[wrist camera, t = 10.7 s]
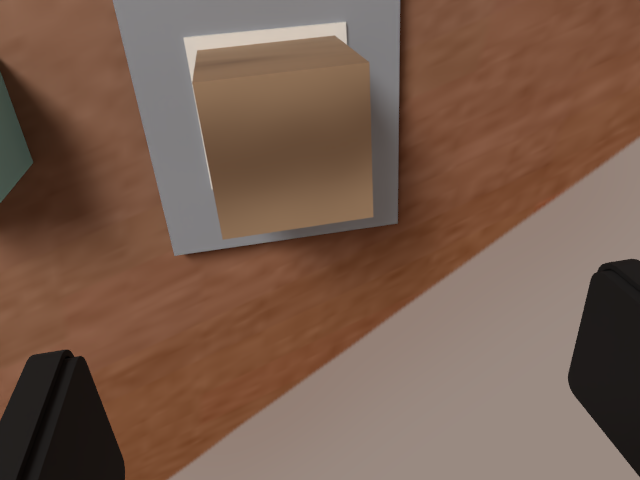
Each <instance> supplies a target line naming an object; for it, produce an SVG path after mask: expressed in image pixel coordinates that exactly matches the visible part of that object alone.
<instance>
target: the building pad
mask: <svg viewBox="0 0 640 480" xmlns="http://www.w3.org/2000/svg"><path fill="white" fill-rule="evenodd" d="M113 4H114V8H115V12H116V16H117V20H118V24H119V28H120V33H121V37H122V41H123V45H124V49H125V53H126V57H127V61H128V66H129V70H130V74H131V78H132V82H133V86H134V90H135V94H136V99H137V103H138V107H139V111H140V115H141V119H142V123H143V128H144V132H145V136H146V140H147V144H148V148H149V152H150V156H151V161H152V165H153V169H154V173H155V177H156V181H157V185H158V189H159V194H160V198H161V202H162V206H163V210H164V214H165V218H166V222H167V227H168V231H169V235H170V239H171V243H172V247H173V251H174V256H176V255H183V254H190V253H197V252H204V251H211V250H218V249H224V248H231V247H238V246H245V245H252V244H259V243H266V242H273V241H280V240H287V239H294V238H300V237H307V236H314V235H321V234H328V233H335V232H342V231H349V230H356V229H363V228H370V227H376V226H383V225H390V224H397V223H398V152H399V58H400V0H113ZM334 35H335V36H336V37H337V38H339V39H340V40H341V41H343V42H344V43H345V44H346V45H348V46H349V47H350V48H352V49H353V50H354V51H356V52H357V53H358V54H359V55H361V56H362V57H363V58H365V59H366V60H367V61H368V62H369V64H370V103H371V143H372V183H373V217H371V218H365V219H358V220H351V221H345V222H338V223H331V224H325V225H318V226H311V227H305V228H298V229H291V230H285V231H278V232H271V233H265V234H258V235H251V236H245V237H238V238H231V239H225V240H223V239H222V234H221V228H220V223H219V218H218V213H217V208H216V203H215V198H214V192H213V187H212V182H211V177H210V172H209V167H208V162H207V156H206V151H205V146H204V141H203V136H202V131H201V126H200V120H199V115H198V110H197V105H196V100H195V95H194V90H193V84H192V81H193V74H194V67H195V61H196V54H197V50H205V49H214V48H224V47H233V46H242V45H251V44H260V43H270V42H279V41H288V40H297V39H306V38H316V37H325V36H334Z"/></svg>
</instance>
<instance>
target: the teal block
mask: <svg viewBox="0 0 640 480" xmlns="http://www.w3.org/2000/svg"><path fill="white" fill-rule="evenodd" d="M32 164H33V160H32V158H31V155H30V152H29V149H28V147H27V144H26V141H25V138H24V136H23V133H22V130H21V127H20V124H19V122H18V119H17V116H16V113H15V111H14V108H13V105H12V102H11V99H10V97H9V94H8V91H7V88H6V86H5V83H4V80H3V77H2V75H1V72H0V203H1V202H2V201H3V199H4V198H5V197H6V196H7V194H8V193H9V192H10V191H11V190H12V188H13V187H14V186H15V185H16V183H17V182H18V181H19V180H20V178H21V177H22V176H23V175H24V174H25V172H26V171H27V170H28V169H29V167H30V166H31V165H32Z"/></svg>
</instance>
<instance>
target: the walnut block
mask: <svg viewBox="0 0 640 480" xmlns="http://www.w3.org/2000/svg"><path fill="white" fill-rule="evenodd" d="M192 84H193V90H194V95H195V100H196V105H197V110H198V115H199V120H200V126H201V131H202V136H203V141H204V146H205V151H206V156H207V162H208V167H209V172H210V177H211V182H212V187H213V192H214V198H215V203H216V208H217V213H218V218H219V223H220V228H221V234H222V239H223V240H225V239H231V238H238V237H245V236H251V235H258V234H265V233H271V232H278V231H285V230H291V229H298V228H305V227H311V226H318V225H325V224H331V223H338V222H345V221H351V220H358V219H365V218H371V217H373V183H372V143H371V103H370V64H369V62H368V61H367V60H366V59H365V58H363V57H362V56H361V55H359V54H358V53H357V52H356V51H354V50H353V49H352V48H350V47H349V46H348V45H346V44H345V43H344V42H343V41H341V40H340V39H339V38H337V37H336V36H335V35H334V36H325V37H316V38H306V39H297V40H288V41H279V42H270V43H260V44H251V45H242V46H233V47H224V48H214V49H205V50H197V54H196V61H195V67H194V74H193V81H192Z"/></svg>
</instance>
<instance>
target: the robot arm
mask: <svg viewBox="0 0 640 480" xmlns="http://www.w3.org/2000/svg"><path fill="white" fill-rule="evenodd" d="M568 382H569V386H570V389H571V391H572V393H573V394H574V395H575V397H576V398H577V399H578V401H579V402H580V403H581V404H582V405H583V407H584V408H585V409H586V410H587V412H588V413H589V414H590V415H591V417H592V418H593V419H594V420H595V422H596V423H597V424H598V425H599V427H600V428H601V429H602V430H603V432H605V434H606V435H607V437H608V438H609V439H610V440H611V442H612V443H613V444H614V445H615V447H616V448H617V449H618V450H619V452H620V453H621V454H622V455H623V457H624V458H625V459H626V460H627V462H628V463H629V464H630V465H631V467H632V468H633V469H634V470H635V471H636V473H637V474H638V475H639V476H640V261H639V260H636V259H628V260H622V261H616V262H609V263H605V264H602V265H601V266H600V267H599V269H598V272H597V273H594V275H593V276H592V278H591V281H590V285H589V289H588V294H587V298H586V302H585V306H584V311H583V315H582V319H581V323H580V327H579V331H578V336H577V340H576V344H575V349H574V352H573V357H572V361H571V365H570V369H569V374H568ZM0 480H125V466H124V460H123V457H122V454H121V452H120V449H119V446H118V444H117V441H116V439H115V436H114V433H113V431H112V428H111V426H110V423H109V420H108V418H107V415H106V412H105V410H104V407H103V405H102V402H101V399H100V397H99V394H98V392H97V389H96V386H95V384H94V381H93V378H92V376H91V373H90V371H89V368H88V365H87V363H86V361H85V359H84V358H83V357H82V356H78V357H74V356H73V354H72V352H71V351H70V350H61V351H55V352H48V353H42V354H36V355H32V356H31V357H29V359H28V360H27V362H26V364H25V367H24V369H23V371H22V373H21V376H20V378H19V380H18V382H17V385H16V387H15V389H14V391H13V394H12V396H11V398H10V400H9V403H8V405H7V407H6V409H5V412H4V414H3V416H2V418H1V421H0Z"/></svg>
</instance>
